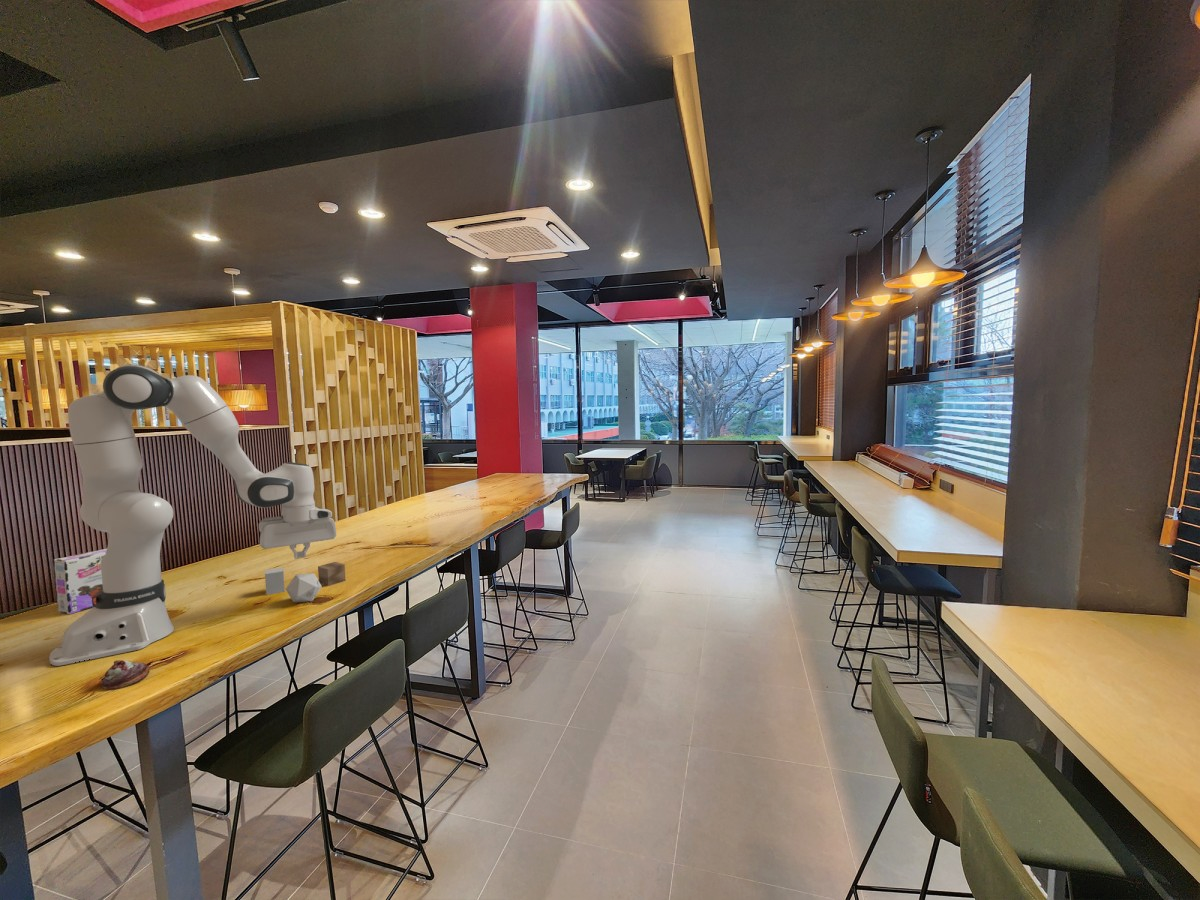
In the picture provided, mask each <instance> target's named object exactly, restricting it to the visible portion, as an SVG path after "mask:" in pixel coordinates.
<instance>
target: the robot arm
mask: <svg viewBox="0 0 1200 900" xmlns="http://www.w3.org/2000/svg"><path fill="white" fill-rule="evenodd" d="M102 389H103V390H102V392H100V393H97V394H92V395H91V394H90V395H85V396H82V397H78V398H77V399H75V400H73V401H72V402H71V403H70V404H69V406H68V409H67V410H68V412H67V417H68V427H69V433H70V437H71V443H72V445H73V449H74V452H75V455H76V458H77V461H78V464H79V469H80V472H81V476H82V501H83V502H82V504H81V506H80V509H79V516H80V518H81V520H82V521H83V522H84V523H85V524H86V525H87V526H89V527H90V528H91V529H94V530H96V531H99V532H104V533H108V541H107V547H106V549H107V551H106V554H105V556H104V557H103V558H102V560H101V563H100V564H101V574H102V585H103V590H102V591H100V590H95V591H93V593H91V596H90V597H91V599H92V605H93V608H90V609H88V611H87V612H86V613H84V614H83V615H81V616H80V617H79V618H78V619H76V620H75V621H73V622H72V623H71V624H69V625H68V626H67V627H66V629H65V631H64V634H63V635H62V639H61V640H62V641H61V644H59V645H58V646H56V647H55V648H54V649H52V651H51V652H50V654H49V658H48V662H50V663H49V664H50V665H51V664H52V666H55V667H57V666H58V667H60V666H64V665H70V664H75V662H76V663H79V661H80V662H84V660H85V661H88V660H89V659H90V660H93V659H100V658H104V657H109V656H113V655H119V654H124V653H129V652H133V651H134V652H135V651H138V650H142V649H143V648H146V647H147V646H149V645H151V643H154V642H156V641H158V640H162V639H163V638H166V637H167V636H169V635H170V634H171V633H173V632H174V630H175V628H174V625H173V623H172V622H171V619H170V617H169V614H168V611H167V610H168V609H167V606H166V602H165V601H166V597H167V593H166V592H167V591H166V584H165V580H164V579H163V578H162V566H161V548H162V542H163V538H164V533H165V531H166V529H167V528H168V526H169V525H170V524H171V522H172V521H173V517H174V509H173V507H172V505H171V504H170V502H169V501H168V500H166V499H165V498H162V497H160V496H158V495H155V494H153V493H148V492H141V490H140V482H139V480H140V472H141V470H142V469H143V466H144V463H143V460H142V456H141V451H140V448H139V445H138V442H137V437H136V435H135V431H134V427H133V422H132V416H133V413H134V412H135V411H136V410H137V411H138V410H139V411H141V410H146V409H147V410H148V409H154V408H161V407H165V408H167V409H168V410H169V411H171V412H172V413H173V414H174V415H175V417H176V418H177V419H178V420H179V422H180V423H181V424H182V426H183V427H184V428H185V430H187V431H188V432H189V434H190V435H191V436H192V437H194V438H195V439H196V440H197V442H199V443H200V444H201V445H203V446H204V447H205V448H206V449H208V450H209V451H210V452H211V453H212V454H213V455H214V456H216V458H217V459H218V461H219V462H220V463H221V464H222V466H223V467H224V468H225V470H226V471H227V473H228V474H229V475H230V477H231V478H232V481H233V484H234V490H235V494H236V496H237V498H238V499H239V500H240V501H241V502H242V503H244V504H247V505H250V506H254V507H257V508H262V509H263V508H265V509H267V508H272V507H276V506H279V505H281V515H278V516H269V517H268V516H267V517H264V518H263V519H262V520H260V521H259V523H258V532H259V533H260V536H259V546H260V547H261V548H262V549H264V550H269V549H274V548H275V549H276V548H281V547H289V549H290V550H291V551H292V553H293V558H294V560H296V559H303V558H307V552H308V550H309V549H310V546H311V543H316V542H322V541H323V542H324V541H329V540H334V539H335V538H337V537H336V536H337V527H336V521H335V520H334V519H333V518H332V517H333V512H332V511H331V510H330V509H327V508H324V507H317V506H316V501H315V498H314V493H315V487H316V486H315V478H314V471H313V468H312V467H311V465H309V464H306V463H300V462H290V461H289V462H288V461H287V462H284V463H282V464H281V465H280V466H278V467H276V468H274V469H273V470H270V471H268V472H266V473H264V472H262V471H260V470H259V469H258V468H256V467H255V465H254V464H253V462H251V459H250V458H249V457H248V456H247V454H246V453H245V451H244V450H243V449H242V447H241V445H240V443H239V433H240V425H239V422H238V420H237V419H236V416H235V415H234V412H233V411H232V410H231V409H230V407H229V406H228V404H227V403H226V402H225V400H224V399H223V397H221V395H220V394H219V393H218V392H217V391H216V390H215V389H214V388H213V387H212V386H211V384H209V383H208V382H207V381H206V380H205V379H203V377H200V376H197V375H194V374H193V375H192V374H187V375H181V376H178V377H174V378H166V377H164V376H162V375H161V374H160V373H159V372H157V371H156V370H154V369H152V368H150V367H148V366H144V365H141V364H126V365H122V366H118V367H117V368H115V369H113V370H111V371H110V372H108V373H107V375H106V376H105V377H104V379H103V382H102ZM297 545H303V549H302V550H301V551H297V550H296V549H297ZM90 660H89V661H90Z"/></svg>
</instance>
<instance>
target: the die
mask: <svg viewBox="0 0 1200 900" xmlns="http://www.w3.org/2000/svg"><path fill="white" fill-rule="evenodd" d="M321 589H322V584H320V583H319V578H318V577H317V576H316V574H315V573H313V572H312V573H300V574H295V575H294V577H293V578H292V580H291V581H290V582H289V584H288V585H286V587H285V590H286V591H285V592H287V594H288V596H289V597H290V599H291V601H292V602H293V603H294V604H295V603H307V602H313V601H314V599H315V598H316V596H317V595H318V593H319V592H320V590H321ZM293 603H292V604H293Z"/></svg>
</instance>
